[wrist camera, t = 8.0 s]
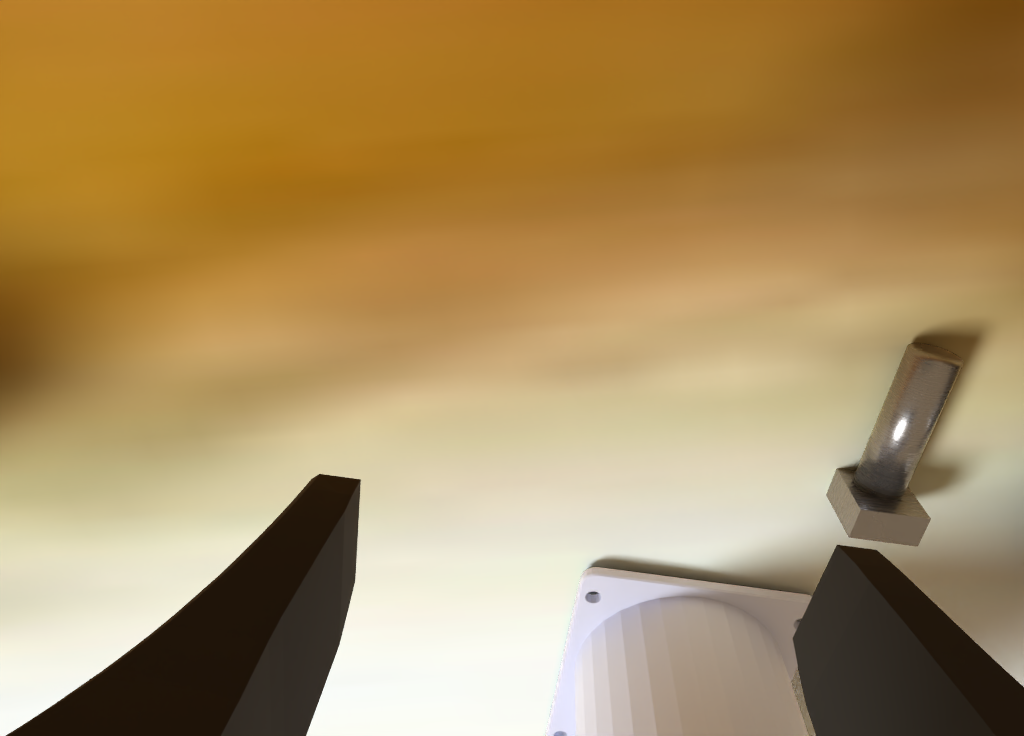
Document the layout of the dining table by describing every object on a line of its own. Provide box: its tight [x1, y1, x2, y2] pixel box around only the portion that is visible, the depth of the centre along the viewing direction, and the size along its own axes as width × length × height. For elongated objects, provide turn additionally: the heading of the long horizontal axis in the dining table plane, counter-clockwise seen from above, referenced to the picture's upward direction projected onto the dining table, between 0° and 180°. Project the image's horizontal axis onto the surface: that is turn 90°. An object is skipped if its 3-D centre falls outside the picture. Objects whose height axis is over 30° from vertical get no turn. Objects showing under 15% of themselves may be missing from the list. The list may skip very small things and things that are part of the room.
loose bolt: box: [826, 343, 964, 546], centre depth 21 cm, size 5×2×2 cm, turn 173°
